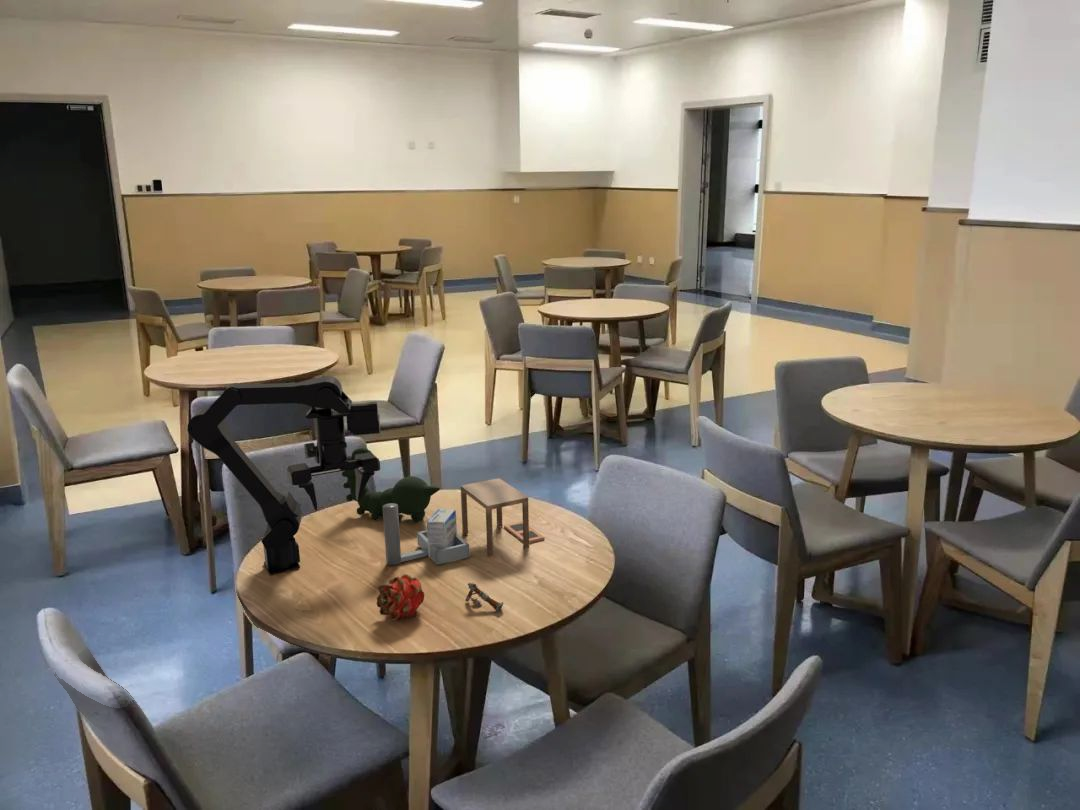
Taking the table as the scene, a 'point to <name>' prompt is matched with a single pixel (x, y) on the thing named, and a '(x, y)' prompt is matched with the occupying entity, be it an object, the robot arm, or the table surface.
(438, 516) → the medicine box
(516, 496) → the miniature wooden table
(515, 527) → the pit plate
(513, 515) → the table surface
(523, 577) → the table surface
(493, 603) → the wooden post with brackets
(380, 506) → the toy figurine
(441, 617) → the table surface
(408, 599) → the dragon fruit
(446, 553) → the grey post with tray
